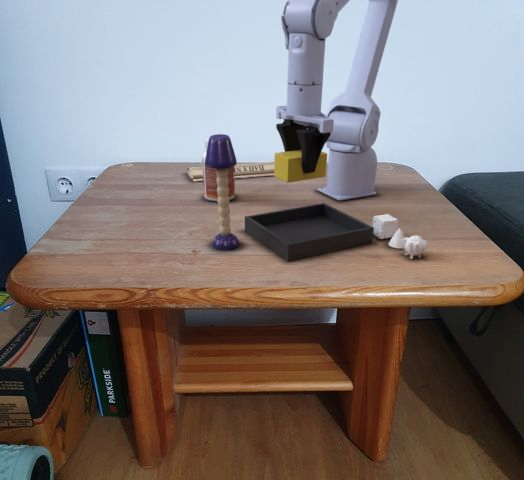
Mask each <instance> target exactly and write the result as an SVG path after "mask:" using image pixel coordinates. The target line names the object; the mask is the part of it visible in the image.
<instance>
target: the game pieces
mask: <svg viewBox="0 0 524 480" xmlns="http://www.w3.org/2000/svg"><path fill="white" fill-rule="evenodd" d="M371 224H372V225H371V226H372V227H374V231H373V236H375V237H377V239H379V240H384V239H390V240H389V242H388V243H387V244H388V246H389V247H391V248H393V249H403V251H405V253H404V256H409V255H410V257H409V259H414V256H417V258H421V256H422V254H425V253H424V252H425V250H426V248H427V244H428V240H425V239H423V237H422V236H420V235H416V234H415V235H411V236H410V237H407V236H404V231H403V230H402V229H401V228H398V224H399V220H398V218H395V217H394V216H392V215H391V214H389V213H384V214H379V215H377V214H376V215H374V216H373V217H372V223H371Z"/></svg>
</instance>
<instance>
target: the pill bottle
mask: <svg viewBox="0 0 524 480" xmlns="http://www.w3.org/2000/svg"><path fill="white" fill-rule="evenodd" d="M209 138H210V137H208V138H205V140H204V144H205V145H204V146H205V149H207V147H208V141H209ZM206 153H207V150H205V151H204V152H203V153H202V155H201V164H202V166H201V167H203V181H202V183H203V184H202V185H203V197H204V198H205V199H206V200H207V201H210V202H211V201H212V202H216V203H218V194H217V187H218V185H217V182H216V179H217V174H216V169H213V168H209V167H207V166H206V164H205V159H206ZM227 177H228V185H227V186H228V189H229V194H228V197H229V201H231V200H233V199H234V198H235V197H236V188H235V187H236V180H235V179H236V178H234V166H233V167H231V168H228V174H227Z"/></svg>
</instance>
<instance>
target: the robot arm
mask: <svg viewBox="0 0 524 480" xmlns="http://www.w3.org/2000/svg"><path fill="white" fill-rule="evenodd" d="M350 1H351V0H287V1H286V2H285V4H284V7H283V11H282V15H281V17H280V19H281V27H282V31H283V34H284V46H285V49H286V50H287V51H288V55H287V57H288V58H287V86H286V87H287V88H286V105H280V106H279V105H278V106H277V105H276V109H275V110H276V111H275V118H276V119H278V120H283V121H282V122H281V123H276V125H275V126H276V130H277V132H278V134H279V136H280V139H281V142H282V145H283V150H284V152H288V151H296V150H301V153H302V169H303V173H305V174H306V173H313V172H315V169H316V166H317V163H318V160H319V157H320V154H321V152H323V149H324V147H326V148H328V149H329V150H328V160H327V173H326V186H323V187H318V188H317V191H318V192H320V193H322V194H324V195H326V196H328V197H331V198H333V199H334V200H337V201H346V200H351V199H352V200H353V199H358V198H363V197H369V196H375V195H377V192H376V191H375V183H376V176H377V170H378V169H377V167H378V158H377V153H376V150H374V148H372V146H374V145H375V143H376V140H377V138H378V134H379V127H380V126H379V125H380V118H381V114H382V113H381V110H380V107H379V106H378V104H377V103H376V102H375V101H374V99H373V98H372V95H373V91H374V88H375V84H376V80H377V77H378V75H379V74H378V73H379V69H380V66H381V63H382V60H383V55H384V53H385V49H386V45H387V41H388V38H389V34H390V30H391V27H392V24H393V20H394V17H395V13H396V9H397V5H398V3H399V0H368V4H367V9H366V12H365V16H364V19H363V23H362V27H361V31H360V33H359V38H358V42H357V45H356V49H355V52H354V57H353V61H352V63H351V68H350V71H349V75H348V78H347V82H346V86H345V90H344V91H342V92H341V93H340V94H339V95H337V96H335V97H334V98H333V99H331V101H330V104H329V107H328V110H327V112H326V114H324V112H322V99H323V86H324V85H323V84H324V69H325V68H324V67H325V56H326V55H325V52H326V40H327V38H328V37H330V36H331V35H332V31H333V29H334V26H335V22H336V20H337V19H338V16H339V13H340V12H341V10H343V9H344V7H345V6H346V5H348V3H349V2H350ZM325 145H326V146H325Z"/></svg>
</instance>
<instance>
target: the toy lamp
mask: <svg viewBox="0 0 524 480" xmlns="http://www.w3.org/2000/svg"><path fill="white" fill-rule="evenodd" d="M208 138H209V141H208V147H207V148H206V151H207V153H206V159H205V164H206V166H207V167H209V168H213V169H216V174H217V179H216V182H217V185H218V187H217V194H218V202H217V204H218V209H217V212H218V215H219V216H218V223H219V233H218V234H216V235H215V237H214V238H213V240H212V247H213V248H215V249H217V250H221V251H230V250H234V249H237V248H238V247H239V246H240V241H239V238H238V237H237V236H236V235H235V234H234V233H232V231H231V230H232V229H231V228H232V227H231V225H230V224H231V217H230V213H231V209H230V208H231V207H230V200H229V197H228V194H229V189H228V186H227V185H228V177H227V174H228V168H231V167H233V166H235V165H236V164H238V163H237V157H236V154H235V153H236V152H235V150H234V146H233V143H232V139H231V137H230V136H229V135H228V134H223V133H218V134H212V135H210V136H209V137H208Z"/></svg>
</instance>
